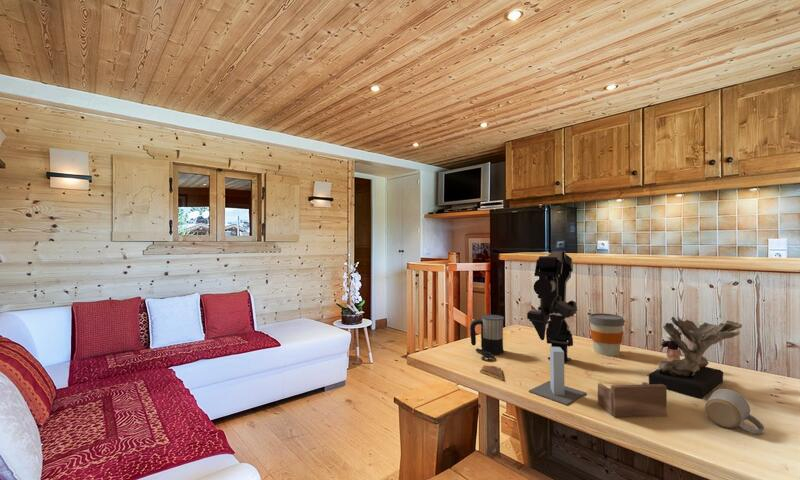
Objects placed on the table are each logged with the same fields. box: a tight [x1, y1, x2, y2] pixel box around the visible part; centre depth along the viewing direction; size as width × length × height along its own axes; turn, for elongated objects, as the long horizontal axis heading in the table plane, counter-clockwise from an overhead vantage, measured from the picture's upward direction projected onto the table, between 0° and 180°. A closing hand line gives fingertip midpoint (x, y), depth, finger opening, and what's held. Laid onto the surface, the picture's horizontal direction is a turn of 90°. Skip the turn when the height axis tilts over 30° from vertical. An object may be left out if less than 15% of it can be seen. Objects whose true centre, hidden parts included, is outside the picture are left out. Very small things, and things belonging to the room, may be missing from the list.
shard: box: [479, 364, 504, 381], centre depth 127 cm, size 11×8×2 cm
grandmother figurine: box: [659, 333, 684, 361], centre depth 134 cm, size 8×4×13 cm, turn 65°
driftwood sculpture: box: [648, 316, 743, 400], centre depth 116 cm, size 25×20×22 cm
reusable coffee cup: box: [588, 312, 625, 357], centre depth 150 cm, size 13×13×15 cm
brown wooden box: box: [597, 381, 668, 419], centre depth 100 cm, size 8×14×8 cm, turn 92°
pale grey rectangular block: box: [549, 346, 565, 395], centre depth 111 cm, size 5×3×13 cm, turn 169°
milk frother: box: [469, 314, 505, 360], centre depth 149 cm, size 14×16×15 cm
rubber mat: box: [528, 380, 587, 406], centre depth 111 cm, size 12×12×1 cm
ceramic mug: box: [704, 388, 765, 436], centre depth 91 cm, size 11×8×8 cm
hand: (549, 337), depth 126 cm, fingers open, 9 cm apart
